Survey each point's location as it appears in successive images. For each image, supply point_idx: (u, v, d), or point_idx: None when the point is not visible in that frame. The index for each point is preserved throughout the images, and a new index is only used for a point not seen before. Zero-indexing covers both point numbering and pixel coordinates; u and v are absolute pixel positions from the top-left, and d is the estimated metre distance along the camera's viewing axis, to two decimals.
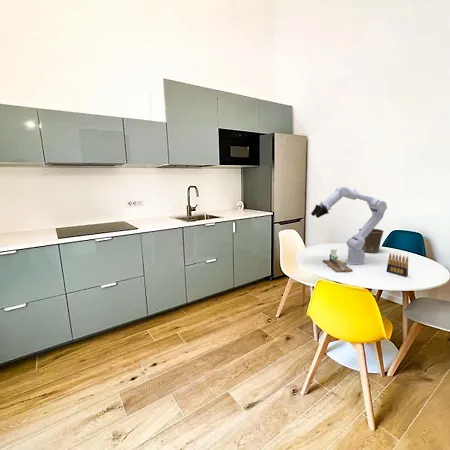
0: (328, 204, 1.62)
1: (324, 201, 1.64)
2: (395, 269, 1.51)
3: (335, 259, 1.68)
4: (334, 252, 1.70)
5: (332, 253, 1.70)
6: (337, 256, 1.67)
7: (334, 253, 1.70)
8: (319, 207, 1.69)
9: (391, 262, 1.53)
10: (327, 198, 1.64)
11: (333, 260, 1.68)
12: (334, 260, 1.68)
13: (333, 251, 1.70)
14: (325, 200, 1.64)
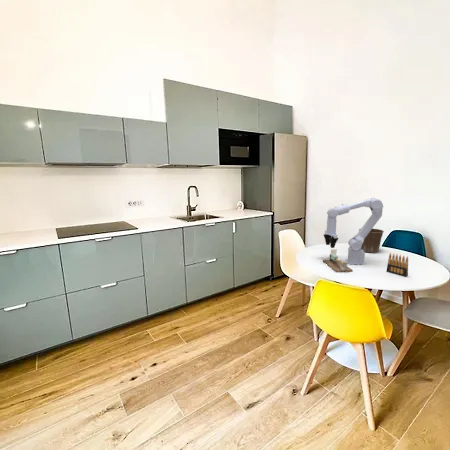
0: (332, 231, 1.70)
1: (327, 231, 1.72)
2: (395, 269, 1.51)
3: (335, 259, 1.68)
4: (334, 252, 1.70)
5: (332, 253, 1.70)
6: (337, 256, 1.67)
7: (334, 253, 1.70)
8: (327, 235, 1.77)
9: (391, 262, 1.53)
10: (327, 227, 1.72)
11: (333, 260, 1.68)
12: (334, 260, 1.68)
13: (333, 251, 1.70)
14: (327, 229, 1.72)
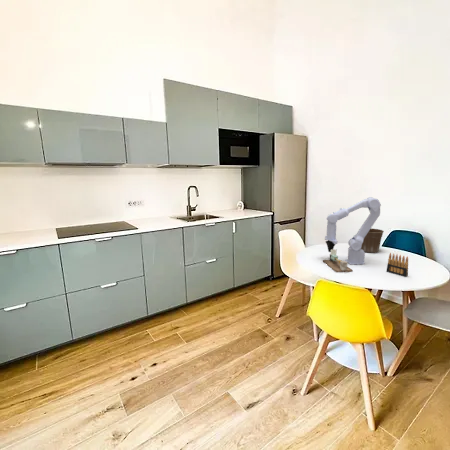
0: (332, 237, 1.71)
1: (327, 236, 1.73)
2: (395, 269, 1.51)
3: (335, 259, 1.68)
4: (334, 252, 1.70)
5: (332, 253, 1.70)
6: (337, 256, 1.67)
7: (334, 253, 1.70)
8: None
9: (391, 262, 1.53)
10: None
11: (333, 260, 1.68)
12: (334, 260, 1.68)
13: (333, 251, 1.70)
14: (327, 235, 1.73)
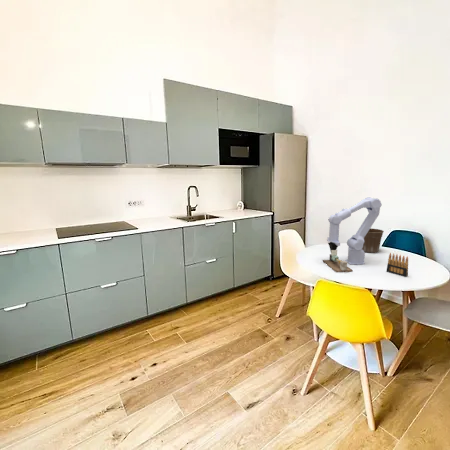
0: (334, 238, 1.67)
1: (329, 238, 1.69)
2: (395, 269, 1.51)
3: None
4: (335, 252, 1.69)
5: (333, 253, 1.69)
6: None
7: (335, 253, 1.69)
8: None
9: (391, 262, 1.53)
10: (329, 234, 1.69)
11: None
12: None
13: (334, 251, 1.69)
14: (329, 236, 1.69)
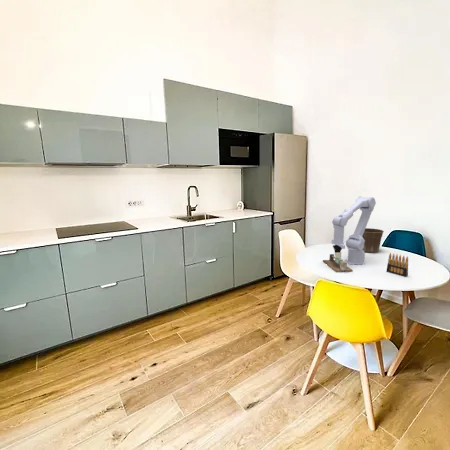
0: (339, 241, 1.60)
1: (334, 240, 1.63)
2: (395, 269, 1.51)
3: None
4: (338, 255, 1.64)
5: (337, 256, 1.64)
6: (342, 259, 1.61)
7: (339, 256, 1.64)
8: None
9: (391, 262, 1.53)
10: (334, 236, 1.63)
11: (338, 263, 1.61)
12: (339, 263, 1.61)
13: (338, 254, 1.64)
14: (334, 239, 1.63)
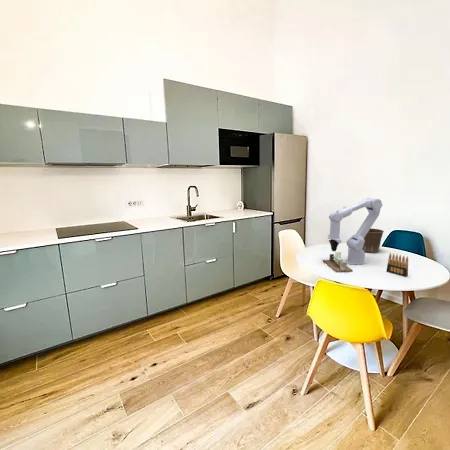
0: (335, 236, 1.65)
1: (330, 235, 1.68)
2: (395, 269, 1.51)
3: None
4: (338, 255, 1.64)
5: (336, 256, 1.64)
6: (342, 259, 1.61)
7: (339, 256, 1.64)
8: None
9: (391, 262, 1.53)
10: (330, 231, 1.68)
11: (338, 263, 1.62)
12: (339, 263, 1.61)
13: (337, 254, 1.64)
14: (330, 234, 1.68)
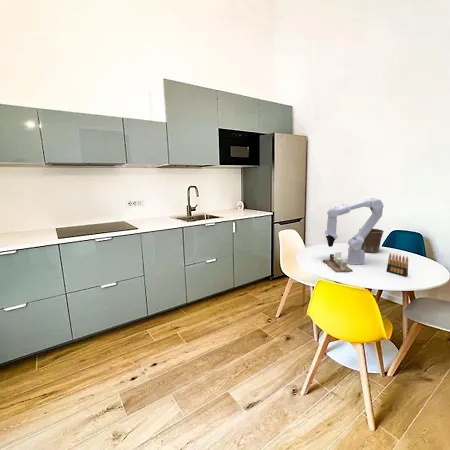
0: (332, 231, 1.70)
1: (327, 231, 1.72)
2: (395, 269, 1.51)
3: None
4: (338, 255, 1.64)
5: (336, 256, 1.64)
6: (342, 259, 1.61)
7: (339, 256, 1.64)
8: None
9: (391, 262, 1.53)
10: (327, 227, 1.72)
11: (338, 263, 1.62)
12: (339, 263, 1.61)
13: (337, 254, 1.64)
14: (327, 229, 1.72)
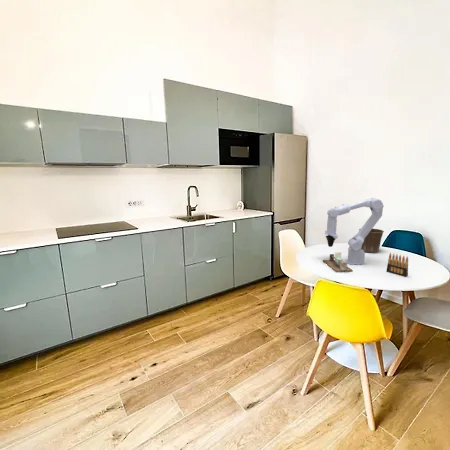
0: (332, 231, 1.70)
1: (327, 231, 1.72)
2: (395, 269, 1.51)
3: None
4: (338, 255, 1.64)
5: (336, 256, 1.64)
6: (342, 259, 1.61)
7: (339, 256, 1.64)
8: None
9: (391, 262, 1.53)
10: (327, 227, 1.72)
11: (338, 263, 1.62)
12: (339, 263, 1.61)
13: (337, 254, 1.64)
14: (327, 229, 1.72)
